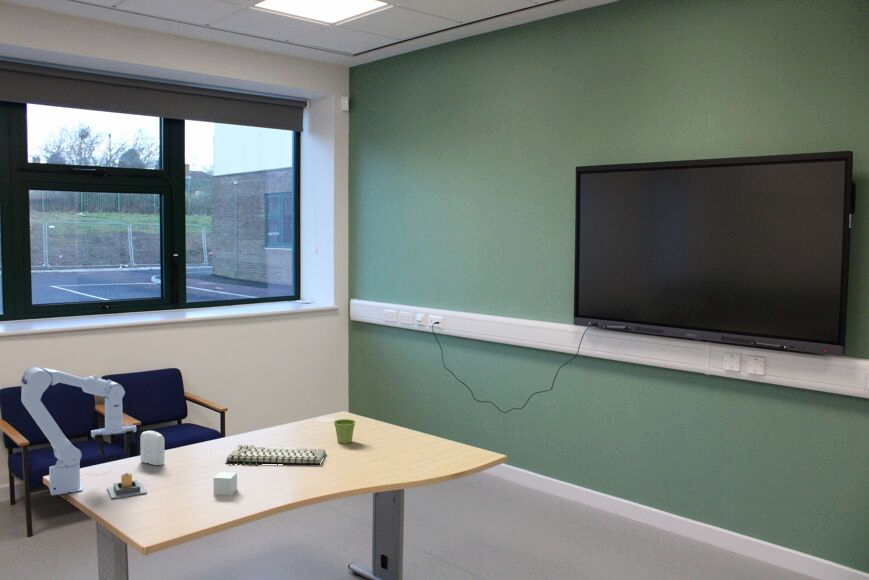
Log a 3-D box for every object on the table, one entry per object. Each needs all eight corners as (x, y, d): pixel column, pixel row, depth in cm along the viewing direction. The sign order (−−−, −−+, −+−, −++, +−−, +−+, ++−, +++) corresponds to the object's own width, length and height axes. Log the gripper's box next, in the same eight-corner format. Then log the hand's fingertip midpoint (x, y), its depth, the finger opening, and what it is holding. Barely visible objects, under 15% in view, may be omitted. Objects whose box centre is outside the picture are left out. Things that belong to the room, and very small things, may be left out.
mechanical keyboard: (327, 453, 296) (327, 444, 295) (321, 468, 277) (321, 460, 276) (234, 452, 295) (234, 443, 295) (222, 467, 276) (221, 459, 276)
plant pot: (331, 439, 312) (331, 419, 312) (353, 438, 315) (353, 418, 314) (335, 445, 304) (335, 425, 303) (357, 444, 306) (357, 424, 306)
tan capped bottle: (122, 491, 245) (122, 475, 244) (120, 488, 248) (120, 472, 247) (133, 490, 247) (132, 474, 246) (131, 487, 250) (131, 471, 249)
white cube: (220, 488, 252) (220, 471, 251) (237, 489, 251) (237, 472, 251) (213, 494, 246) (213, 477, 245) (230, 495, 245) (230, 478, 245)
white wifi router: (166, 464, 276) (166, 432, 275) (157, 467, 273) (156, 434, 272) (148, 459, 281) (147, 428, 280) (138, 462, 278) (138, 430, 277)
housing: (111, 499, 240) (111, 492, 239) (107, 488, 249) (107, 482, 249) (147, 493, 245) (146, 487, 245) (141, 483, 255) (141, 477, 255)
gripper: (92, 421, 249) (93, 460, 250) (137, 416, 257) (138, 454, 258) (90, 416, 255) (90, 454, 256) (134, 411, 263) (134, 448, 264)
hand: (114, 453), depth 257 cm, fingers open, 7 cm apart
